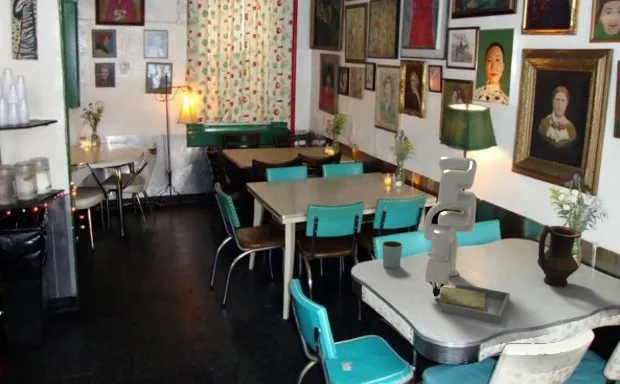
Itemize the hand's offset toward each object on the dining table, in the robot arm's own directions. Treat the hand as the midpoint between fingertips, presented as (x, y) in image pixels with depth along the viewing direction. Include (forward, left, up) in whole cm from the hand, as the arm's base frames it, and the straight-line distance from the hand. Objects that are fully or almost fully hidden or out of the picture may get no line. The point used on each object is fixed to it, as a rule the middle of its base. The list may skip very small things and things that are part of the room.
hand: (436, 295), depth 278 cm
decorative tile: (+11, +1, -2) cm, 12 cm away
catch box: (+18, 0, -1) cm, 18 cm away
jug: (+46, +46, -1) cm, 65 cm away
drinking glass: (-31, +29, -1) cm, 43 cm away
